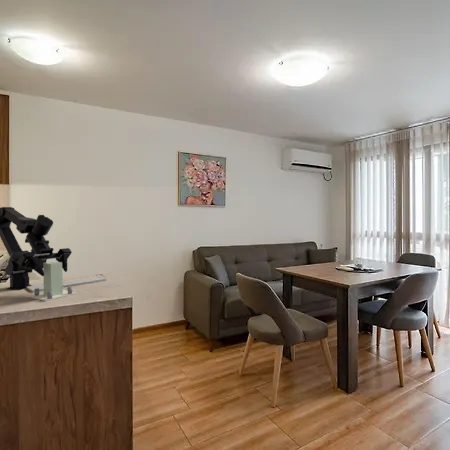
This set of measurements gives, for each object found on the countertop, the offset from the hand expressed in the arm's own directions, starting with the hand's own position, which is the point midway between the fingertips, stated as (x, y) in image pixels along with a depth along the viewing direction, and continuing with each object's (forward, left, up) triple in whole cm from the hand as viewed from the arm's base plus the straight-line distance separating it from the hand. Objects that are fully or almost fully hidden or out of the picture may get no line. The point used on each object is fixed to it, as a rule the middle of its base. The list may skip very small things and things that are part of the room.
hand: (55, 273), depth 118 cm
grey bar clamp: (-9, +20, -10) cm, 24 cm away
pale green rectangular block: (-1, 0, -8) cm, 9 cm away
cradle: (-1, +1, -9) cm, 9 cm away
